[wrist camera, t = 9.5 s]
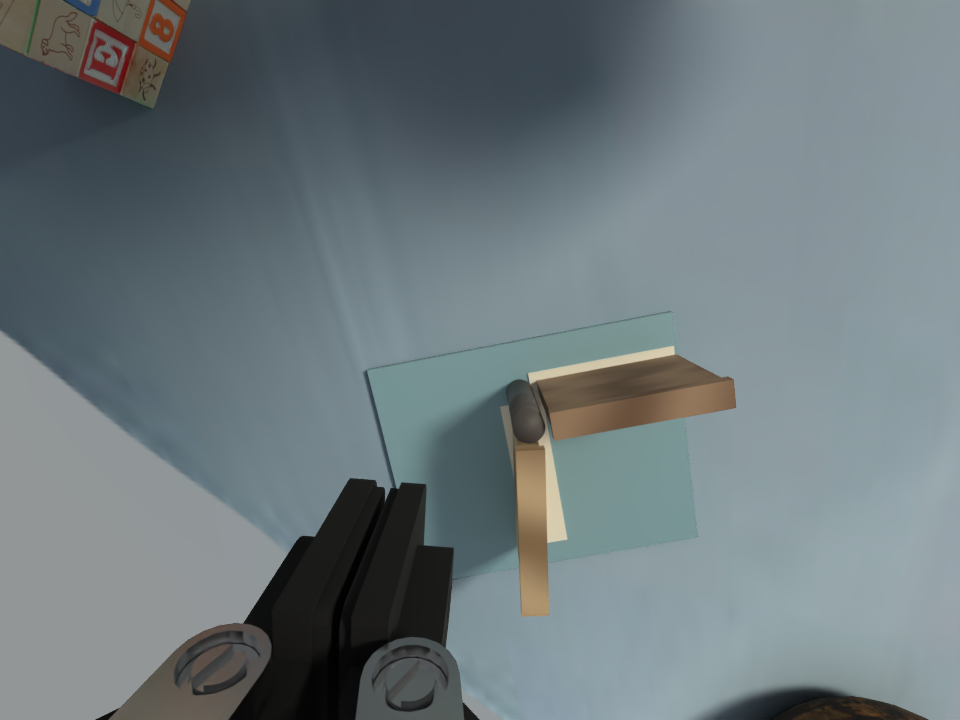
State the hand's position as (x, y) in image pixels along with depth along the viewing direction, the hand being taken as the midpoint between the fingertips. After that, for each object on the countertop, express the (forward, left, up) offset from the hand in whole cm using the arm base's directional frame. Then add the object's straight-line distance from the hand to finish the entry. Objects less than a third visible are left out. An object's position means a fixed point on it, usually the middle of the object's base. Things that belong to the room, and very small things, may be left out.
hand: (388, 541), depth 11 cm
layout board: (-4, +9, -24) cm, 26 cm away
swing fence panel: (-3, +10, -23) cm, 25 cm away
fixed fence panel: (-9, +4, -23) cm, 25 cm away
